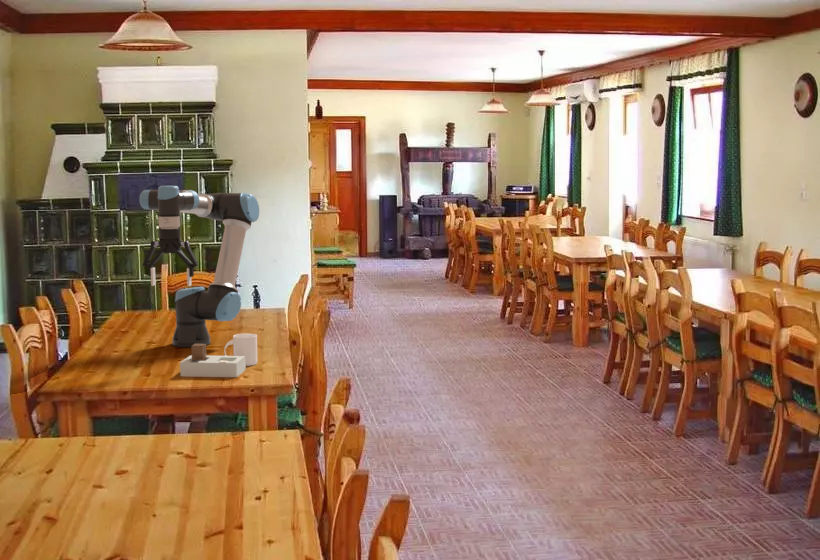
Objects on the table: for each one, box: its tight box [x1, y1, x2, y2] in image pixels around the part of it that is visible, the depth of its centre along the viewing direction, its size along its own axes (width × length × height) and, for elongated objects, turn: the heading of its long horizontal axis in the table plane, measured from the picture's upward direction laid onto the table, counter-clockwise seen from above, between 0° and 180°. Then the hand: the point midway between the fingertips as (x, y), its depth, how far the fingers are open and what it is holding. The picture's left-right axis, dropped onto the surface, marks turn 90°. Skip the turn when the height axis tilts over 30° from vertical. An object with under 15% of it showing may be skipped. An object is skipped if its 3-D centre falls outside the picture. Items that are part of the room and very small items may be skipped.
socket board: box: [179, 354, 247, 378], centre depth 337 cm, size 12×20×5 cm, turn 85°
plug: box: [191, 344, 207, 361], centre depth 337 cm, size 4×4×9 cm
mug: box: [223, 332, 258, 367], centre depth 351 cm, size 9×12×11 cm
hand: (171, 285), depth 352 cm, fingers open, 13 cm apart
